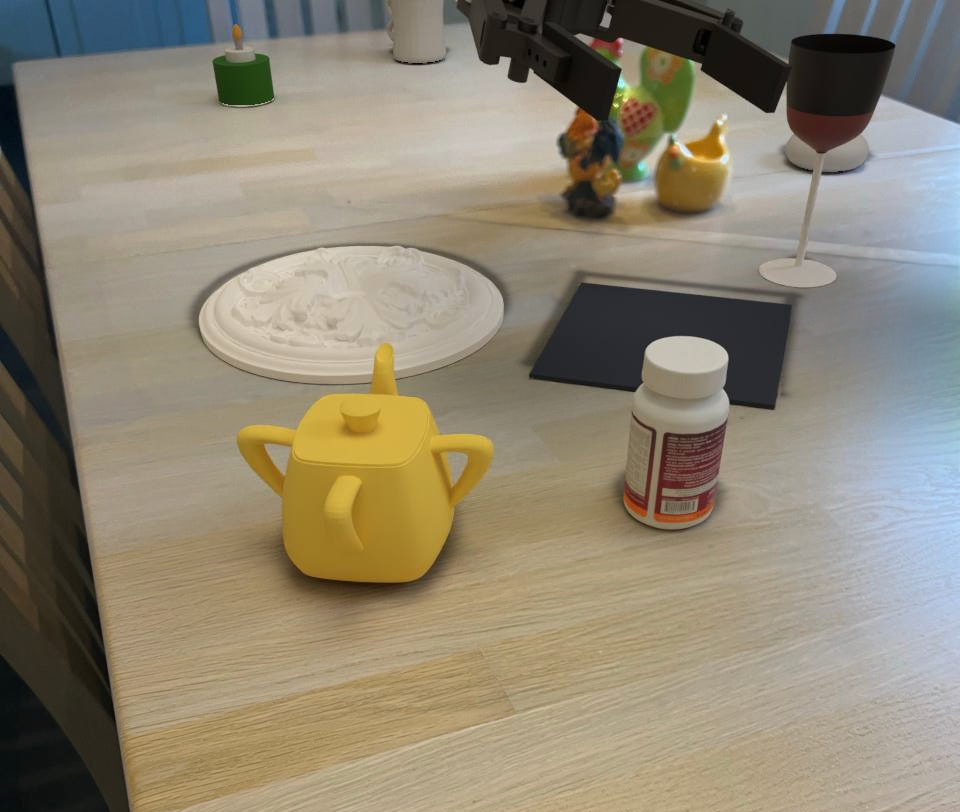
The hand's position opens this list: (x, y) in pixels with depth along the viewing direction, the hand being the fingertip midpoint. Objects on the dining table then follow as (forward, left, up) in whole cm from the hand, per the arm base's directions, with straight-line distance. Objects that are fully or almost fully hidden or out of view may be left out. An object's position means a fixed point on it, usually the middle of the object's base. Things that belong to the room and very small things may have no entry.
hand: (699, 93), depth 59 cm
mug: (+61, -118, -24) cm, 135 cm away
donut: (-9, -75, -24) cm, 80 cm away
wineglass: (-8, -38, -24) cm, 46 cm away
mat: (+2, -19, -24) cm, 31 cm away
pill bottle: (-2, +7, -24) cm, 25 cm away
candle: (+76, -85, -24) cm, 117 cm away
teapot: (+16, +16, -24) cm, 33 cm away
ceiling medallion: (+31, -17, -24) cm, 43 cm away
